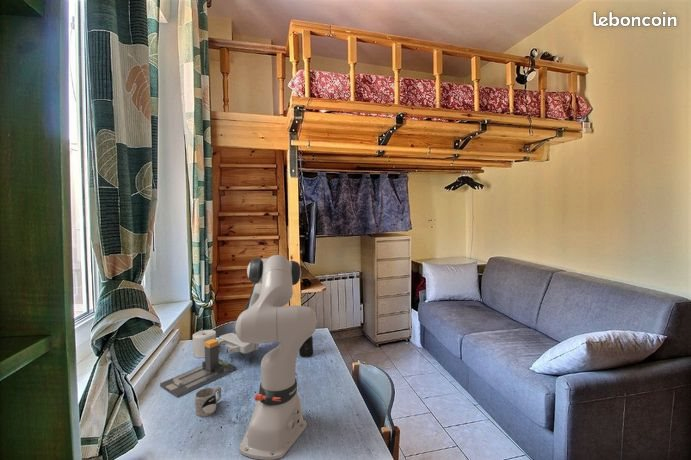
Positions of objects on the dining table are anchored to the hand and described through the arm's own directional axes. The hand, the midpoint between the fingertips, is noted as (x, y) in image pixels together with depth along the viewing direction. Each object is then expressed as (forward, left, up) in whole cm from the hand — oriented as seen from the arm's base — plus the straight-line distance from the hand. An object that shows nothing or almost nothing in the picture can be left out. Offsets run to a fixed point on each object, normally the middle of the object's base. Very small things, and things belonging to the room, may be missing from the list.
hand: (221, 348), depth 141 cm
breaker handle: (-5, +2, -7) cm, 8 cm away
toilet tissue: (+11, +17, -9) cm, 22 cm away
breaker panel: (-10, +4, -9) cm, 14 cm away
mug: (-28, -13, -9) cm, 32 cm away
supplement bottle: (+19, -33, -9) cm, 40 cm away
